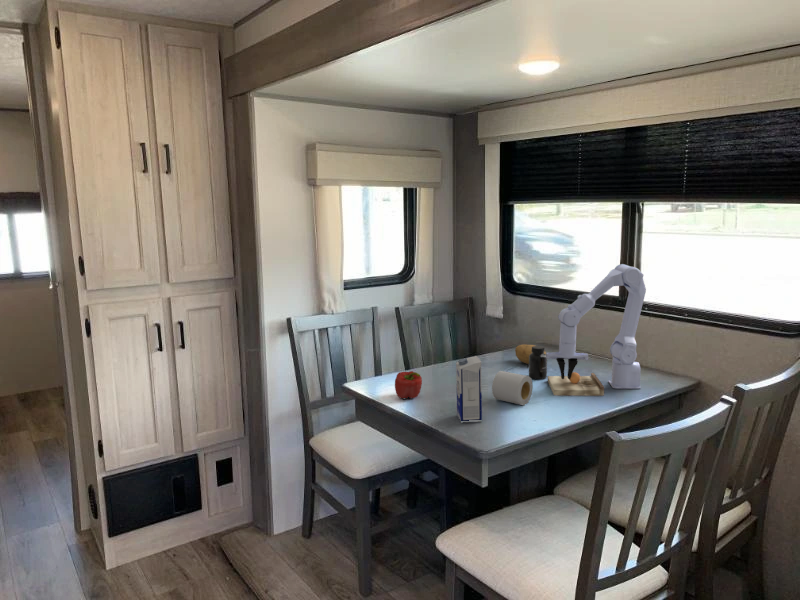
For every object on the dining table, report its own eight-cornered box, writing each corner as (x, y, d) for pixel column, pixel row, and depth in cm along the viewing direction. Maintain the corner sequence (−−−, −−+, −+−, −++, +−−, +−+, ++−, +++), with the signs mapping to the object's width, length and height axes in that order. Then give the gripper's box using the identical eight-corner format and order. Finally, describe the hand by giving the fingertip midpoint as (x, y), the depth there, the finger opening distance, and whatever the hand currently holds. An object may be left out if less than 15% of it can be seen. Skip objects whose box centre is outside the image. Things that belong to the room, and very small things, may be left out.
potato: (524, 358, 254) (524, 340, 253) (550, 365, 243) (551, 346, 242) (509, 362, 249) (509, 344, 247) (535, 369, 238) (535, 350, 236)
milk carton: (482, 422, 186) (481, 361, 182) (460, 423, 185) (459, 362, 182) (477, 414, 193) (476, 355, 189) (456, 415, 192) (455, 356, 189)
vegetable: (430, 397, 211) (429, 370, 209) (410, 404, 203) (409, 377, 202) (408, 390, 218) (407, 364, 216) (388, 397, 211) (387, 371, 209)
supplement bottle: (547, 380, 224) (547, 349, 222) (528, 379, 226) (529, 349, 224) (546, 374, 231) (546, 345, 229) (528, 374, 232) (528, 344, 230)
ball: (575, 382, 216) (580, 373, 215) (578, 386, 212) (583, 377, 211) (565, 378, 216) (570, 368, 215) (567, 382, 212) (572, 372, 211)
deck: (595, 381, 221) (595, 372, 221) (605, 395, 206) (605, 386, 205) (547, 381, 223) (547, 373, 223) (554, 395, 207) (554, 386, 207)
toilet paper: (532, 400, 204) (532, 372, 202) (518, 409, 196) (518, 380, 194) (506, 394, 210) (506, 367, 208) (492, 402, 203) (492, 375, 201)
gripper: (586, 339, 215) (584, 375, 217) (545, 338, 216) (543, 374, 219) (590, 344, 208) (588, 381, 210) (548, 343, 209) (546, 380, 212)
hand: (565, 378), depth 214 cm, fingers closed
